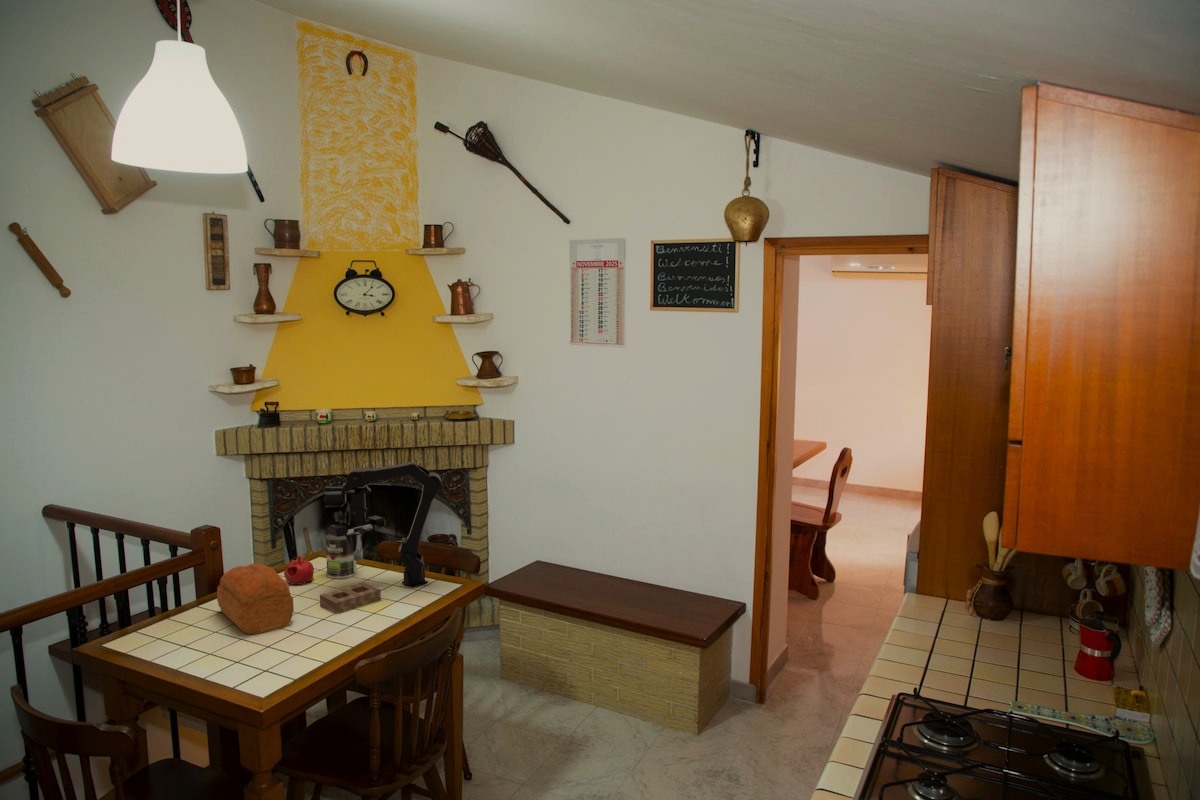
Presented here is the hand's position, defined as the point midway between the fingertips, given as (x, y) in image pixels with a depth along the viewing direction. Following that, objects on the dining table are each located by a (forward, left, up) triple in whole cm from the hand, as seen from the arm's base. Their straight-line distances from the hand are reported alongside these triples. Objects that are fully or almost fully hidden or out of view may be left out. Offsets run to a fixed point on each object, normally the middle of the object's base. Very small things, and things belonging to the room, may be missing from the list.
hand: (357, 550), depth 278 cm
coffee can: (-3, -16, -13) cm, 21 cm away
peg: (0, 0, -3) cm, 3 cm away
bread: (+36, 0, -13) cm, 39 cm away
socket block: (+10, +11, -13) cm, 20 cm away
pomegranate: (+11, -20, -13) cm, 26 cm away
